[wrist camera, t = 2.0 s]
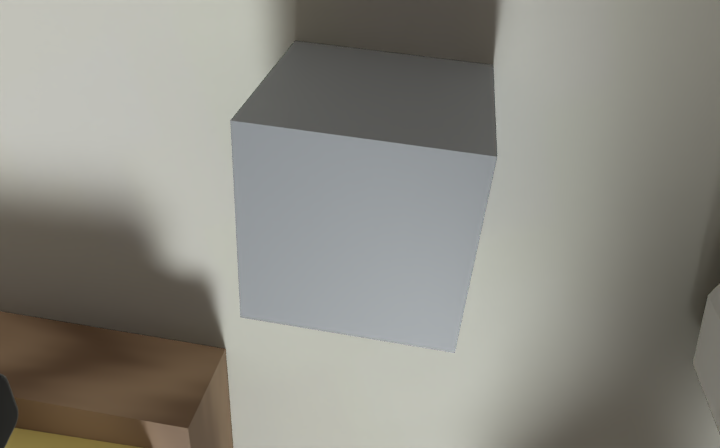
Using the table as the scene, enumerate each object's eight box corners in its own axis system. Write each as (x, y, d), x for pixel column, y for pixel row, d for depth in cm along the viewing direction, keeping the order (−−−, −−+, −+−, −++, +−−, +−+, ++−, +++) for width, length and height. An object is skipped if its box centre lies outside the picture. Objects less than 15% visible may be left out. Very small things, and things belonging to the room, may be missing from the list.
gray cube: (493, 64, 15) (497, 156, 11) (460, 230, 18) (454, 352, 14) (295, 39, 16) (230, 120, 12) (293, 205, 19) (240, 317, 15)
